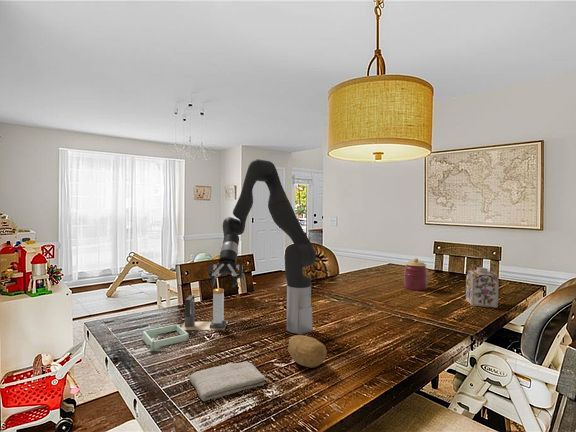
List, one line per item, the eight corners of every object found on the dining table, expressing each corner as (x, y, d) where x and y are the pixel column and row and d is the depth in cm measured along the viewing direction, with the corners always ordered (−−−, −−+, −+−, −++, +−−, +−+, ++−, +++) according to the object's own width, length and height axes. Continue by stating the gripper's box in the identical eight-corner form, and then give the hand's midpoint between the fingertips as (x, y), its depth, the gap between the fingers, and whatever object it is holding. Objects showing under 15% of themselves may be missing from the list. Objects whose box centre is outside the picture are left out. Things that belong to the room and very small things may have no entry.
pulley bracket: (227, 324, 137) (228, 294, 137) (224, 332, 128) (224, 300, 128) (185, 324, 137) (185, 294, 136) (178, 332, 128) (178, 300, 127)
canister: (429, 287, 204) (429, 257, 204) (424, 291, 193) (425, 260, 193) (406, 284, 211) (407, 255, 211) (401, 288, 200) (401, 258, 200)
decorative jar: (471, 306, 166) (472, 269, 166) (465, 299, 177) (465, 265, 177) (498, 308, 163) (500, 270, 163) (490, 301, 175) (491, 266, 174)
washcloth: (267, 385, 91) (268, 374, 91) (201, 405, 82) (201, 392, 82) (249, 367, 102) (249, 357, 102) (188, 383, 93) (188, 371, 92)
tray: (188, 342, 118) (188, 334, 118) (152, 351, 111) (152, 342, 111) (176, 332, 128) (176, 324, 128) (142, 339, 121) (142, 330, 121)
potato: (303, 352, 112) (304, 328, 111) (334, 369, 100) (334, 342, 100) (279, 360, 106) (279, 334, 106) (308, 378, 95) (309, 350, 94)
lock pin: (224, 323, 135) (224, 288, 134) (222, 327, 130) (223, 291, 130) (213, 323, 135) (214, 288, 134) (211, 327, 130) (212, 291, 130)
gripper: (211, 248, 149) (204, 280, 137) (244, 248, 148) (239, 281, 137) (214, 258, 154) (207, 290, 143) (245, 259, 154) (241, 290, 142)
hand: (223, 285), depth 140 cm, fingers open, 8 cm apart
